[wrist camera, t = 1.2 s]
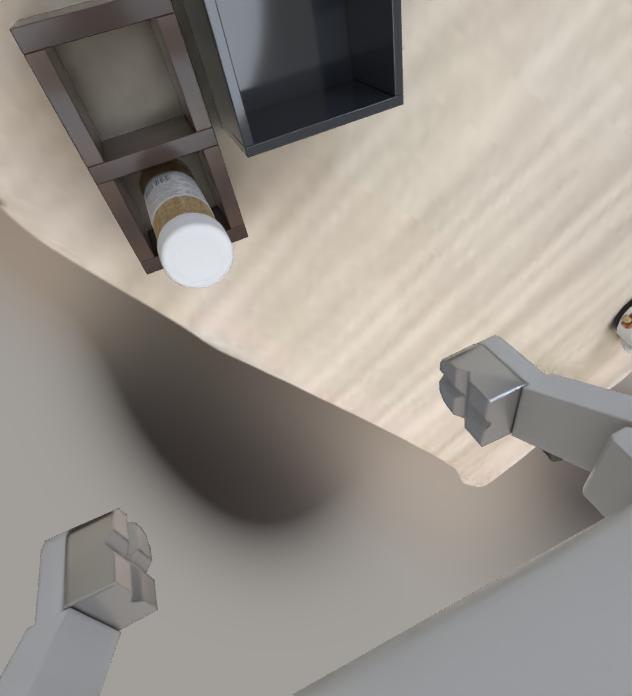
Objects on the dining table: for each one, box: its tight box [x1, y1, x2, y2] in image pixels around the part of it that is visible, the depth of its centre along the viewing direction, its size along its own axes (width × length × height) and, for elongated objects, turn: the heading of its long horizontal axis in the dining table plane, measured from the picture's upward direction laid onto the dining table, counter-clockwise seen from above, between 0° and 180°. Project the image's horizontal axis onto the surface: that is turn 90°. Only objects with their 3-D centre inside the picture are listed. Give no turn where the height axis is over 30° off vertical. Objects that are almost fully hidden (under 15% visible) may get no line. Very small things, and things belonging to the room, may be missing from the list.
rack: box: [10, 0, 248, 274], centre depth 31 cm, size 17×9×5 cm, turn 10°
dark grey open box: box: [182, 0, 403, 158], centre depth 29 cm, size 12×12×8 cm
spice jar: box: [139, 159, 234, 288], centre depth 31 cm, size 5×5×14 cm
